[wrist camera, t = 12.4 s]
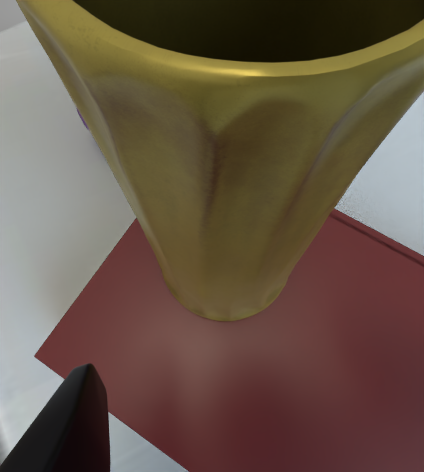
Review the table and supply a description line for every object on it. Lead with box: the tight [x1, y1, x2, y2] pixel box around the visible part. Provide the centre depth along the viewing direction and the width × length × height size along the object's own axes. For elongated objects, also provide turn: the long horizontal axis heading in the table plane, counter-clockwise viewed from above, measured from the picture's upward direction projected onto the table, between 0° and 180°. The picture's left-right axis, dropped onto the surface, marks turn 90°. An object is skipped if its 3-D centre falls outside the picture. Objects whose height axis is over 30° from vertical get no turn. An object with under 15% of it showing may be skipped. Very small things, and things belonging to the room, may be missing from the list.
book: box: [34, 209, 424, 472], centre depth 17 cm, size 20×13×3 cm, turn 58°
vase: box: [16, 0, 424, 321], centre depth 10 cm, size 6×6×14 cm
